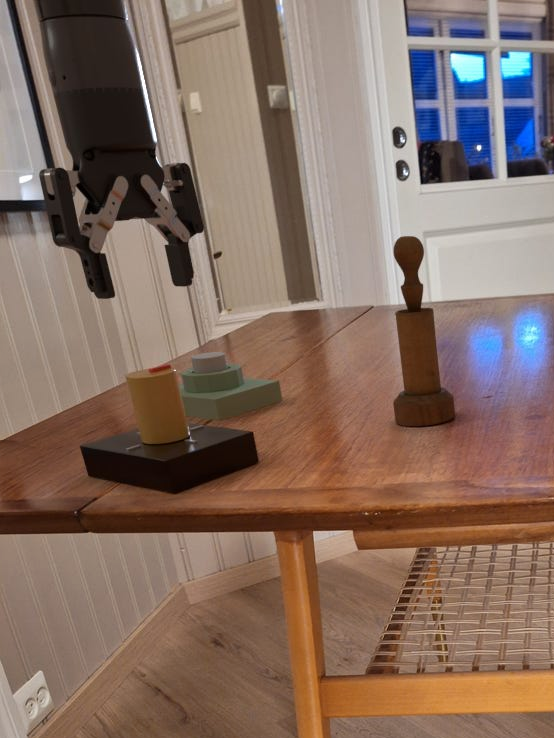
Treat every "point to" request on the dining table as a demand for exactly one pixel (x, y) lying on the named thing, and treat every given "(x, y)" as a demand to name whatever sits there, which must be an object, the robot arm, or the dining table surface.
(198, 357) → the grey push button
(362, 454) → the dining table surface
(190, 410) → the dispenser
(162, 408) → the lock knob
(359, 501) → the dining table surface
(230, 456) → the panel
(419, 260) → the mortar and pestle
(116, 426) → the dining table surface
